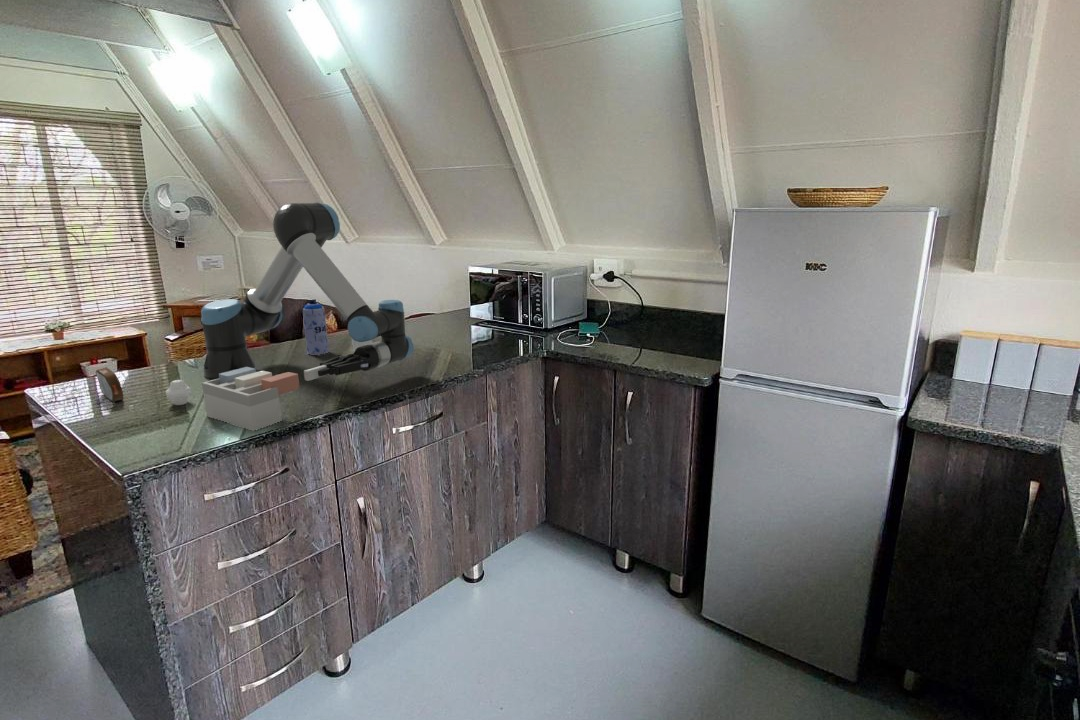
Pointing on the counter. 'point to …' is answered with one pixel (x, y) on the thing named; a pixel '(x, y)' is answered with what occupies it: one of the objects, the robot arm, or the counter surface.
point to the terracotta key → (281, 382)
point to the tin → (109, 384)
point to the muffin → (178, 392)
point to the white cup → (360, 344)
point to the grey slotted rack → (242, 404)
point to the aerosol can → (315, 328)
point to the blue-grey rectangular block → (235, 374)
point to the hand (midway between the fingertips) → (306, 375)
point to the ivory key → (251, 378)
